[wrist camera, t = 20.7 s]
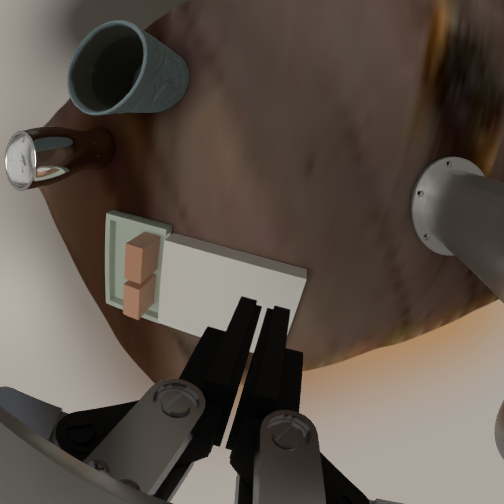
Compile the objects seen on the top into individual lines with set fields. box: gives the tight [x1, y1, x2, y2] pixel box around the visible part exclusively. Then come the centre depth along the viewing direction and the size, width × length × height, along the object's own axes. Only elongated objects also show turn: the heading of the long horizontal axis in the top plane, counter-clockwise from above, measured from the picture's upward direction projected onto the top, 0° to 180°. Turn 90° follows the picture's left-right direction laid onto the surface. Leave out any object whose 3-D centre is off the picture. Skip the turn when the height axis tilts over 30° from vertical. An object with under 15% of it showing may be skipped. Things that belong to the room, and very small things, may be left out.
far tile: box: [123, 273, 156, 320], centre depth 40 cm, size 5×5×2 cm
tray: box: [105, 210, 173, 323], centre depth 41 cm, size 10×15×2 cm, turn 167°
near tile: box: [124, 232, 161, 284], centre depth 38 cm, size 5×5×2 cm
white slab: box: [158, 233, 307, 353], centre depth 40 cm, size 18×13×3 cm
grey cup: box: [67, 20, 189, 115], centre depth 27 cm, size 10×10×12 cm
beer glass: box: [5, 126, 114, 191], centre depth 30 cm, size 7×7×15 cm
